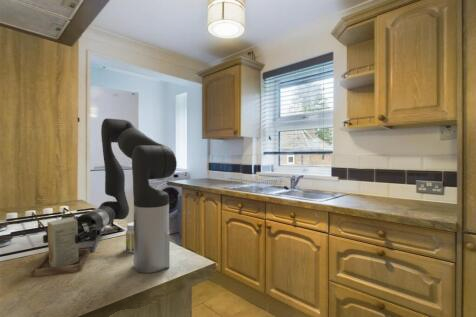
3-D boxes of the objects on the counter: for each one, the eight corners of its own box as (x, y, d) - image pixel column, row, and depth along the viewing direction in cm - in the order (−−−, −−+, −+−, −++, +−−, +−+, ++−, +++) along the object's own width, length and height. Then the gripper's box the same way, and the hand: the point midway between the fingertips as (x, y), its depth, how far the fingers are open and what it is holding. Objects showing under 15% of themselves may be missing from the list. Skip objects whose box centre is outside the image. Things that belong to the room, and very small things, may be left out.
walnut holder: (89, 253, 80) (89, 248, 80) (80, 270, 69) (80, 265, 69) (48, 257, 76) (47, 252, 76) (31, 276, 65) (31, 271, 65)
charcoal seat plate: (100, 239, 92) (100, 235, 92) (94, 251, 81) (94, 247, 81) (63, 242, 88) (63, 238, 88) (52, 255, 78) (52, 251, 78)
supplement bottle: (144, 247, 85) (144, 221, 85) (137, 253, 81) (137, 226, 80) (130, 246, 86) (130, 221, 86) (122, 252, 81) (122, 225, 81)
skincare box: (73, 258, 77) (73, 216, 76) (79, 262, 74) (79, 219, 73) (47, 265, 72) (46, 221, 71) (52, 270, 69) (51, 224, 68)
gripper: (70, 210, 87) (33, 225, 71) (113, 211, 87) (86, 226, 71) (70, 233, 87) (34, 253, 71) (113, 233, 88) (87, 253, 71)
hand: (60, 239), depth 71 cm, fingers open, 8 cm apart
